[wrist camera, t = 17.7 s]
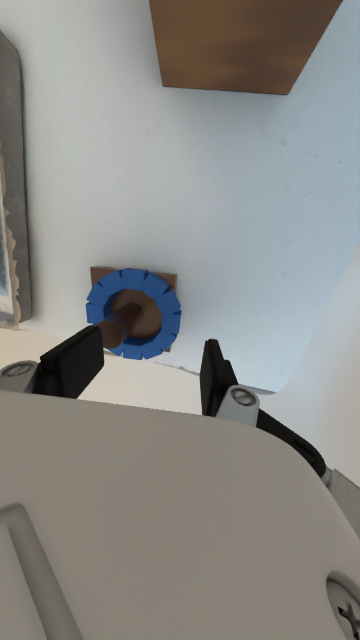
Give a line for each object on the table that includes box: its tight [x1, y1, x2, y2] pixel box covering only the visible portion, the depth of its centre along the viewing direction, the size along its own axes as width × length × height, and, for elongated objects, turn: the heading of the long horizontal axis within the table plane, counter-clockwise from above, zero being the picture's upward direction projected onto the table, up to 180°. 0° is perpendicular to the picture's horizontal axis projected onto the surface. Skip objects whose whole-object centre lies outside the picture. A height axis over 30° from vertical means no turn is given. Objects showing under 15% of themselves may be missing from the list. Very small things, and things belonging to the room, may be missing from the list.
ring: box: [86, 268, 181, 360], centre depth 18 cm, size 10×10×2 cm
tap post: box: [90, 267, 177, 352], centre depth 16 cm, size 9×9×8 cm
